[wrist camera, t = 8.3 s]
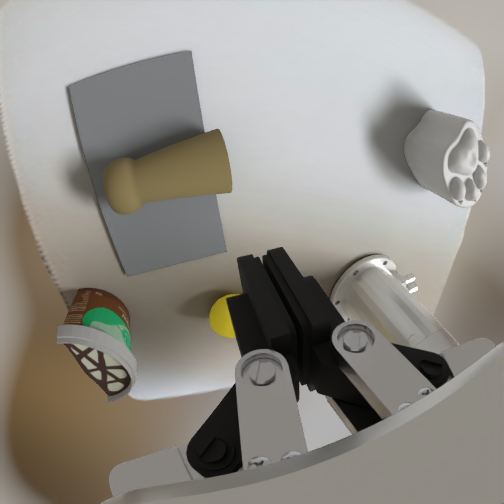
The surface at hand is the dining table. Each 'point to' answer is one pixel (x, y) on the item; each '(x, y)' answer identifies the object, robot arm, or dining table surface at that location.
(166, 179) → the cork
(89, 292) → the food container
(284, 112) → the dining table surface
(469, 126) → the lumpy-topped squat cylinder
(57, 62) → the dining table surface
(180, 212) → the mat
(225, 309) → the lemon
